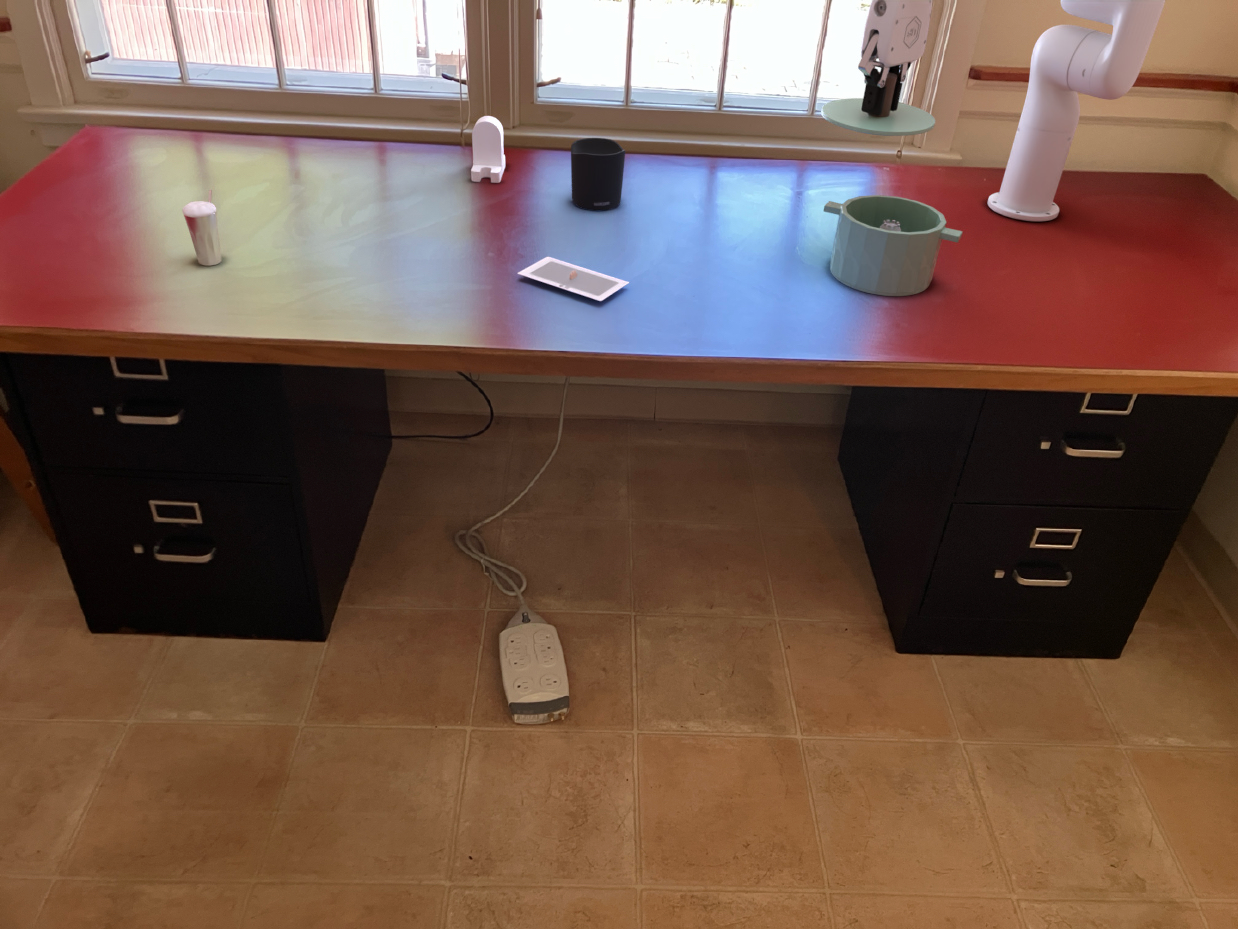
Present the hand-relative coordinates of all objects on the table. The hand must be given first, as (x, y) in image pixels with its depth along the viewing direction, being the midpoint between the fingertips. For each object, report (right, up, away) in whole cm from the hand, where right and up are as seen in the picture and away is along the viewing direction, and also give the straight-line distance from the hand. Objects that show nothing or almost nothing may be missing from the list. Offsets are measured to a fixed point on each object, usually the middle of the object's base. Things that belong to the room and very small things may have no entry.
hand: (879, 109), depth 143 cm
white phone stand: (-63, +2, +40) cm, 74 cm away
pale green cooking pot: (+3, -22, +11) cm, 25 cm away
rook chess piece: (+3, -22, +11) cm, 24 cm away
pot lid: (0, -1, +1) cm, 1 cm away
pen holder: (-42, -6, +30) cm, 52 cm away
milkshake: (-100, -22, +3) cm, 102 cm away
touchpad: (-45, -25, +2) cm, 52 cm away
